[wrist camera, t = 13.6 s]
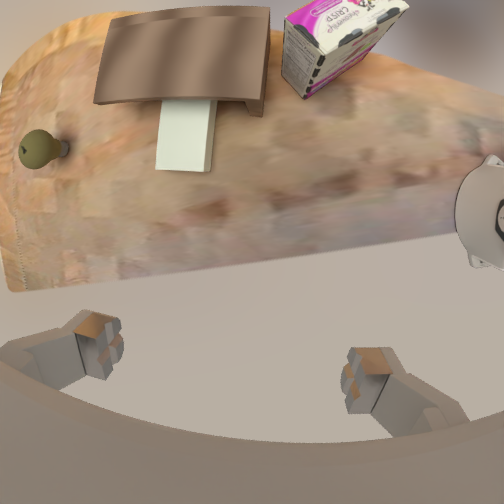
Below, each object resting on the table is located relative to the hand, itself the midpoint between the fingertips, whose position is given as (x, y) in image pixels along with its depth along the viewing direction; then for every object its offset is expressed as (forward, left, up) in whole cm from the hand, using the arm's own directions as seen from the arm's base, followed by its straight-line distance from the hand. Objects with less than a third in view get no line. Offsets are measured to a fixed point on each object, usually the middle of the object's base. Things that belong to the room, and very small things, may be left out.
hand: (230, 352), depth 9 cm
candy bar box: (-6, -21, -29) cm, 37 cm away
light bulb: (+31, -8, -29) cm, 43 cm away
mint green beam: (+10, -13, -29) cm, 33 cm away
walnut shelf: (+10, -18, -29) cm, 36 cm away
